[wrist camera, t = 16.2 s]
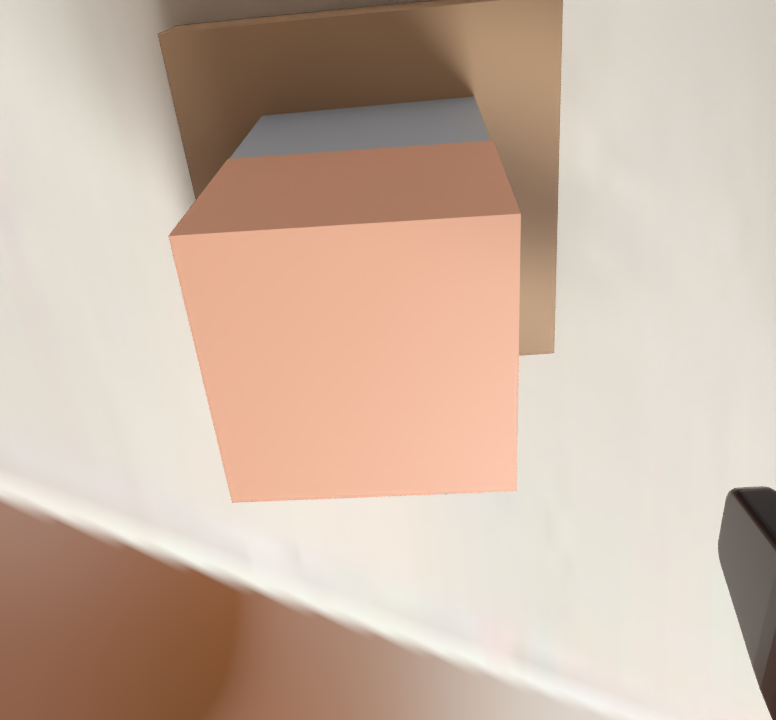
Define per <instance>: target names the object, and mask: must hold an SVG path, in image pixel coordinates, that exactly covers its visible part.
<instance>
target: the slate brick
mask: <svg viewBox="0 0 776 720" xmlns="http://www.w3.org/2000/svg"><path fill="white" fill-rule="evenodd" d="M477 141H490V138H489V135H488V132H487V130H486V127H485V124H484V121H483V119H482V116H481V113H480V110H479V108H478V105H477V102H476V99H475V96H474V97H463V98H452V99H441V100H430V101H419V102H408V103H397V104H386V105H375V106H364V107H353V108H342V109H331V110H320V111H309V112H298V113H287V114H276V115H265V116H262V117H261V118H260V119H259V120H258V122H257V123H256V124H255V126H254V127H253V128H252V130H251V131H250V132H249V134H248V135H247V136H246V138H245V139H244V140H243V141H242V143H241V144H240V145H239V147H238V148H237V149H236V151H235V152H234V153H233V155H232V156H231V157H230V158H229V159H233V158H247V157H261V156H276V155H290V154H305V153H319V152H333V151H348V150H362V149H377V148H391V147H405V146H420V145H434V144H449V143H463V142H477Z"/></svg>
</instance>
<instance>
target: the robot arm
mask: <svg viewBox="0 0 776 720" xmlns="http://www.w3.org/2000/svg"><path fill="white" fill-rule="evenodd" d="M718 553H719V559H720V563H721V567H722V570H723V573H724V576H725V580H726V583H727V586H728V589H729V592H730V596H731V599H732V602H733V605H734V609H735V612H736V615H737V618H738V622H739V625H740V628H741V631H742V634H743V638H744V641H745V644H746V647H747V651H748V654H749V657H750V660H751V663H752V667H753V670H754V673H755V676H756V679H757V682H758V685H759V688H760V690H761V693H762V695H763V698H764V700H765V703H766V705H767V708H768V710H769V712H770V715H771V717H772V719H773V720H776V491H775V490H773V489H771V488H769V487H763V486H762V487H743V488H734V489H732V490H731V491H729V493H728V495H727V497H726V501H725V507H724V512H723V518H722V523H721V529H720V534H719V540H718Z"/></svg>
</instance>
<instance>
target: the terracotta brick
mask: <svg viewBox="0 0 776 720" xmlns="http://www.w3.org/2000/svg"><path fill="white" fill-rule="evenodd" d="M169 240H170V244H171V249H172V253H173V257H174V261H175V265H176V269H177V274H178V278H179V282H180V286H181V290H182V295H183V299H184V303H185V307H186V311H187V316H188V320H189V324H190V328H191V332H192V337H193V341H194V345H195V349H196V353H197V358H198V362H199V366H200V370H201V374H202V379H203V383H204V387H205V391H206V395H207V399H208V404H209V408H210V412H211V416H212V420H213V425H214V429H215V433H216V437H217V441H218V446H219V450H220V454H221V458H222V462H223V467H224V471H225V475H226V479H227V483H228V488H229V492H230V496H231V500H232V503H234V502H258V501H283V500H308V499H332V498H357V497H382V496H406V495H431V494H456V493H480V492H505V491H517V435H518V370H519V305H520V240H521V213H520V210H519V207H518V205H517V202H516V199H515V197H514V194H513V191H512V189H511V186H510V183H509V181H508V178H507V175H506V173H505V170H504V167H503V165H502V162H501V159H500V157H499V154H498V151H497V149H496V146H495V143H494V141H493V140H492V141H477V142H463V143H449V144H434V145H420V146H405V147H391V148H377V149H362V150H348V151H333V152H319V153H305V154H290V155H276V156H261V157H247V158H233V159H227V161H226V162H225V163H224V164H223V166H222V167H221V168H220V170H219V171H218V172H217V174H216V175H215V176H214V177H213V179H212V180H211V181H210V183H209V184H208V185H207V187H206V188H205V189H204V190H203V192H202V193H201V194H200V196H199V197H198V198H197V200H196V201H195V202H194V203H193V205H192V206H191V207H190V209H189V210H188V211H187V213H186V214H185V215H184V216H183V218H182V219H181V220H180V222H179V223H178V224H177V226H176V227H175V228H174V229H173V231H172V232H171V233H170V235H169Z"/></svg>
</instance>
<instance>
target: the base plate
mask: <svg viewBox="0 0 776 720" xmlns="http://www.w3.org/2000/svg"><path fill="white" fill-rule="evenodd" d="M562 13H563V0H431V1H421V2H411V3H401V4H391V5H381V6H371V7H360V8H350V9H340V10H330V11H320V12H310V13H300V14H290V15H280V16H269V17H259V18H249V19H239V20H229V21H219V22H209V23H199V24H188V25H178V26H174V27H172V28H170V29H168V30H165V31H163V32H161V33H159V34H158V37H159V41H160V46H161V50H162V55H163V59H164V63H165V68H166V72H167V76H168V81H169V85H170V89H171V94H172V98H173V102H174V107H175V111H176V116H177V120H178V124H179V129H180V133H181V137H182V142H183V146H184V150H185V155H186V159H187V163H188V168H189V172H190V177H191V181H192V185H193V190H194V194H195V198H196V200H197V198H198V197H199V196H200V194H201V193H202V192H203V190H204V189H205V188H206V187H207V185H208V184H209V183H210V181H211V180H212V179H213V177H214V176H215V175H216V174H217V172H218V171H219V170H220V168H221V167H222V166H223V164H224V163H225V162H226V161H227V159H229V158H230V157H231V156H232V155H233V153H234V152H235V151H236V149H237V148H238V147H239V145H240V144H241V143H242V141H243V140H244V139H245V138H246V136H247V135H248V134H249V132H250V131H251V130H252V128H253V127H254V126H255V124H256V123H257V122H258V120H259V119H260V118H261V117H262V116H265V115H276V114H287V113H298V112H309V111H320V110H331V109H342V108H353V107H364V106H375V105H386V104H397V103H408V102H419V101H430V100H441V99H452V98H463V97H474V96H475V99H476V102H477V105H478V108H479V110H480V113H481V116H482V119H483V121H484V124H485V127H486V130H487V132H488V135H489V138H490V141H492V140H493V141H494V143H495V146H496V149H497V151H498V154H499V157H500V159H501V162H502V165H503V167H504V170H505V173H506V175H507V178H508V181H509V183H510V186H511V189H512V191H513V194H514V197H515V199H516V202H517V205H518V207H519V210H520V213H521V240H520V305H519V355H533V354H549V353H554V336H555V296H556V255H557V215H558V175H559V134H560V94H561V53H562Z"/></svg>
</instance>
